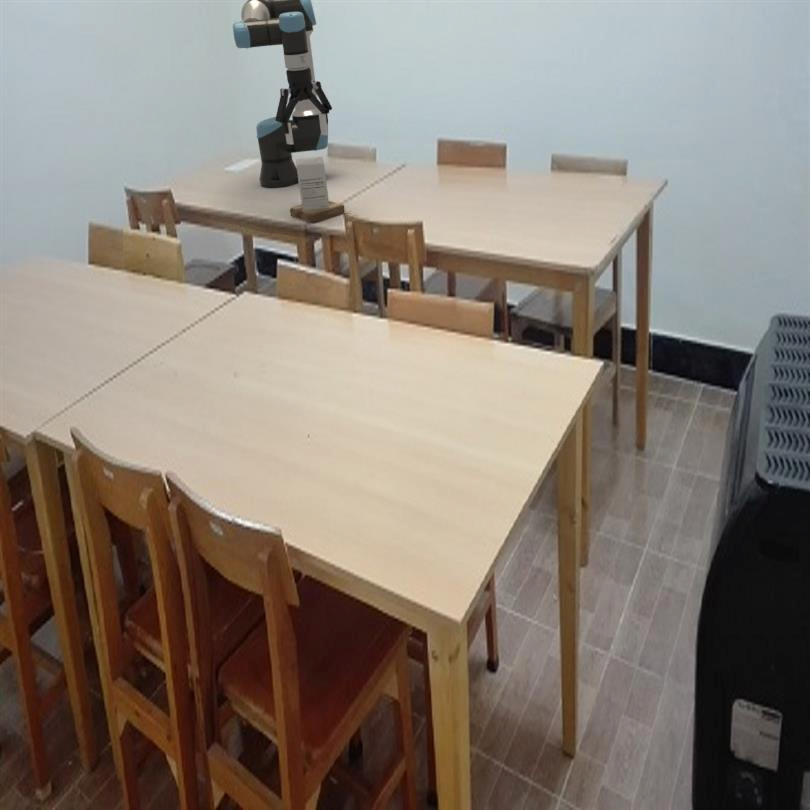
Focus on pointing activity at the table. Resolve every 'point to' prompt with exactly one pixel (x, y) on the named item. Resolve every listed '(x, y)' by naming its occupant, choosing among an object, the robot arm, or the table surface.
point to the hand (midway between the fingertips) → (307, 139)
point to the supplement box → (312, 183)
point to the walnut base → (317, 212)
